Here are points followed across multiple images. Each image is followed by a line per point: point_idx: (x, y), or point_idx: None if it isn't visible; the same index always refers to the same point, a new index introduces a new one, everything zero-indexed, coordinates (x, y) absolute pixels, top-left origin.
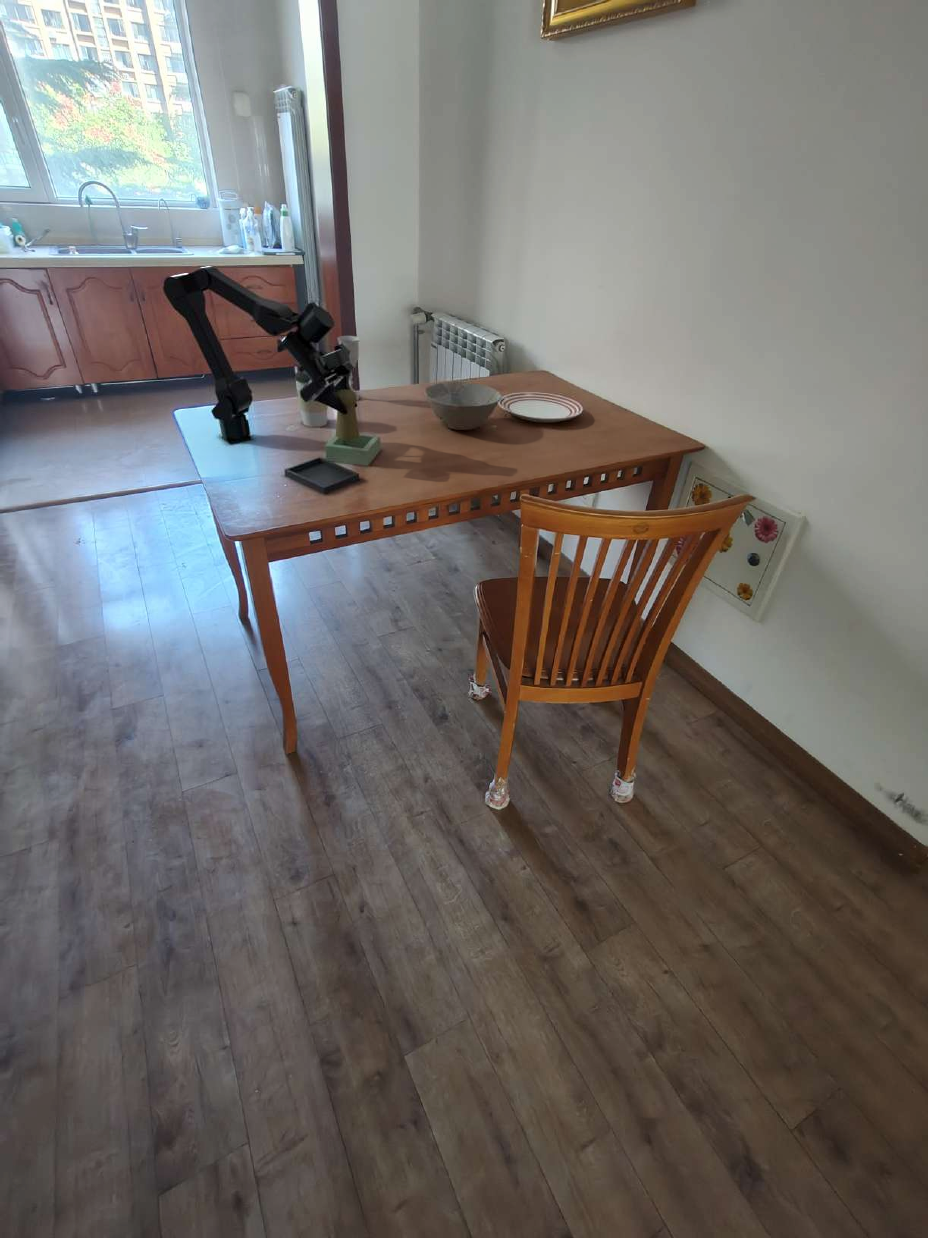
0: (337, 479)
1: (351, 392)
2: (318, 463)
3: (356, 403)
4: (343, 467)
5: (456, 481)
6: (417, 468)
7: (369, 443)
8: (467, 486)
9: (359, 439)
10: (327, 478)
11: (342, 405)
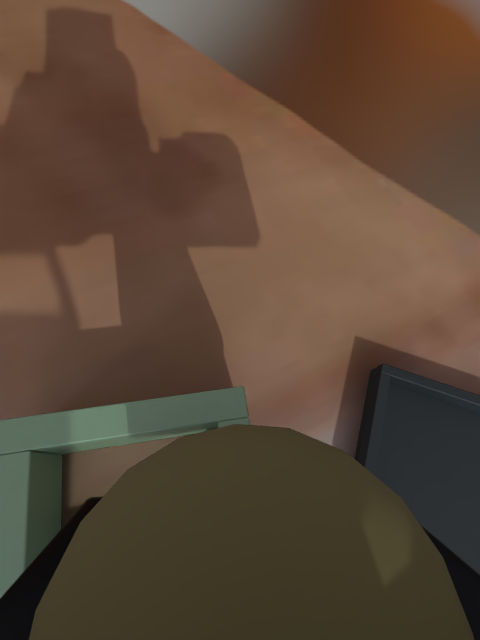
0: (435, 442)
1: (254, 516)
2: None
3: (83, 512)
4: (371, 455)
5: (209, 112)
6: (168, 229)
7: (137, 423)
8: (227, 85)
9: (38, 545)
10: (454, 488)
11: (447, 550)
